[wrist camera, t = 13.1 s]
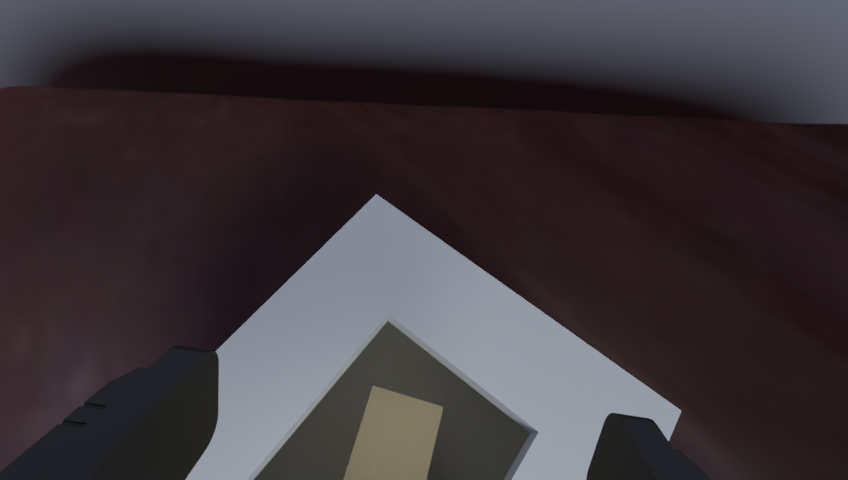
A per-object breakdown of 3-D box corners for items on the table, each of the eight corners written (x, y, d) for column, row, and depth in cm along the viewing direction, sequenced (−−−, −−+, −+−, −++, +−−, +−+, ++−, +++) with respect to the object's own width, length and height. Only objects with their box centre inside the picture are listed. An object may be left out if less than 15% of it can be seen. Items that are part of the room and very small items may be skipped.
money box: (557, 431, 27) (681, 410, 16) (402, 713, 21) (425, 1021, 9) (379, 293, 31) (376, 193, 19) (197, 498, 24) (29, 533, 13)
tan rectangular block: (423, 425, 26) (443, 406, 17) (400, 518, 24) (409, 552, 15) (376, 410, 26) (373, 385, 17) (349, 502, 24) (328, 527, 15)
